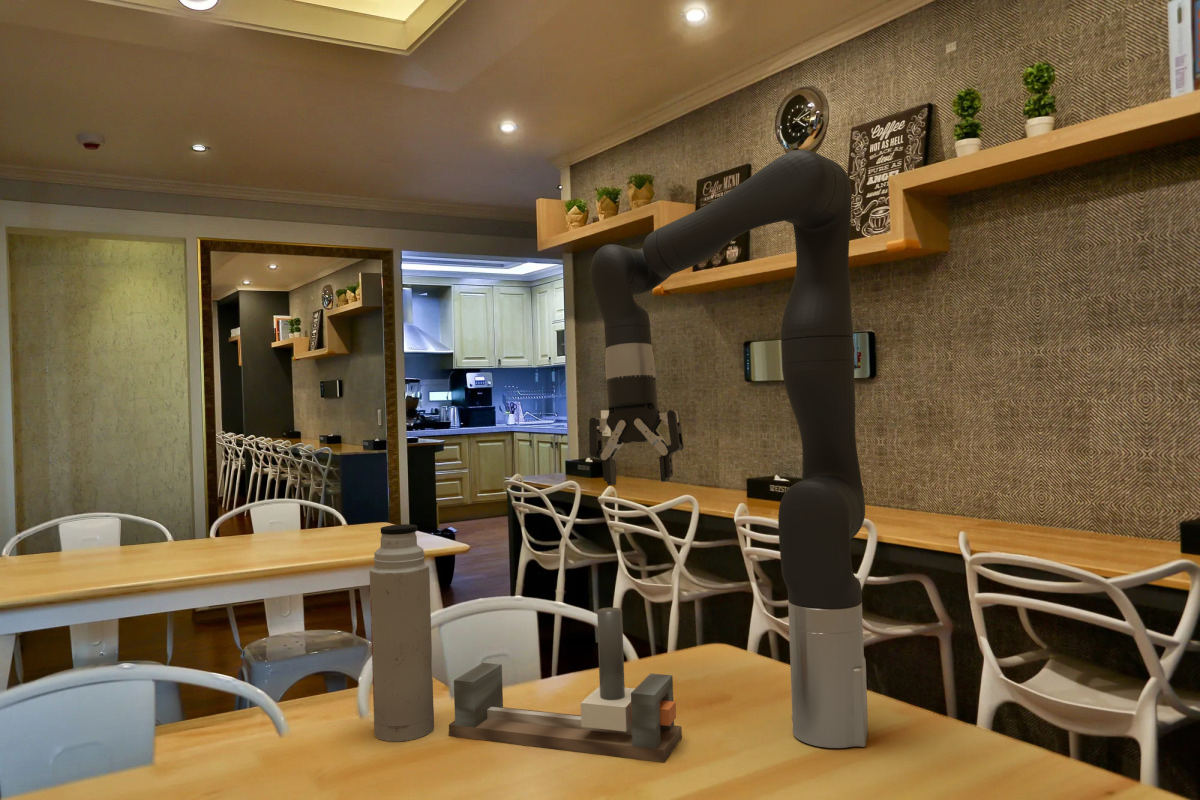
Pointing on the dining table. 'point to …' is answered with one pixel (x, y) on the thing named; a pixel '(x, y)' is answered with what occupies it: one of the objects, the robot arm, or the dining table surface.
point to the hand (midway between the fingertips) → (638, 483)
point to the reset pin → (666, 712)
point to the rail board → (562, 720)
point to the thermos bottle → (401, 637)
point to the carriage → (609, 678)
